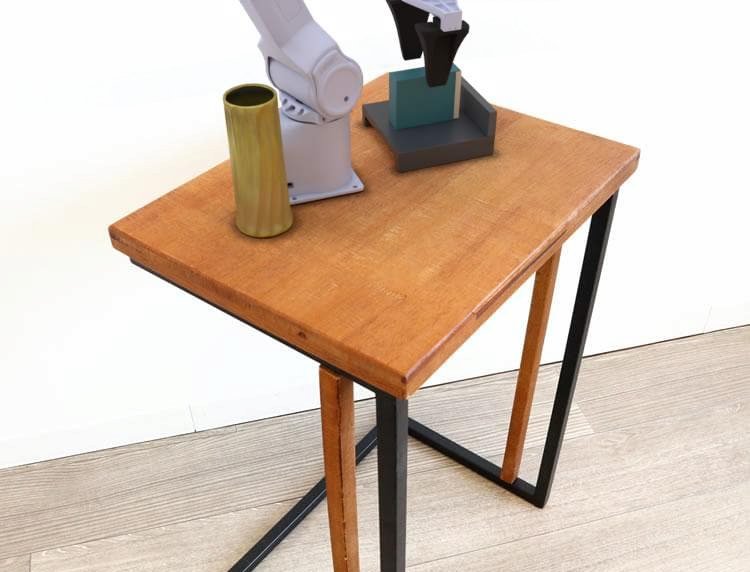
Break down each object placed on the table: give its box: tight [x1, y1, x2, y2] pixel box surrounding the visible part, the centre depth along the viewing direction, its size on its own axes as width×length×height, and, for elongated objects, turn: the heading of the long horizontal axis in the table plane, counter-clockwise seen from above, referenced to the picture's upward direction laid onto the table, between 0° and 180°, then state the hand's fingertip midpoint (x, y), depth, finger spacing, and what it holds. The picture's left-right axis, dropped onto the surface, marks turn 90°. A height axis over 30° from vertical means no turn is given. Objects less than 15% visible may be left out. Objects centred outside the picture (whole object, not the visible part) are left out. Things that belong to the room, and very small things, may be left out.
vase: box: [222, 82, 295, 238], centre depth 85 cm, size 6×6×14 cm
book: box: [388, 62, 462, 130], centre depth 99 cm, size 3×8×6 cm, turn 110°
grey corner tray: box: [361, 75, 498, 174], centre depth 101 cm, size 12×13×6 cm
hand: (424, 71), depth 97 cm, fingers open, 7 cm apart
